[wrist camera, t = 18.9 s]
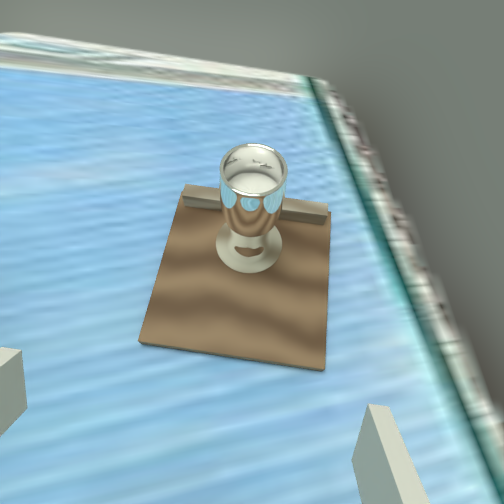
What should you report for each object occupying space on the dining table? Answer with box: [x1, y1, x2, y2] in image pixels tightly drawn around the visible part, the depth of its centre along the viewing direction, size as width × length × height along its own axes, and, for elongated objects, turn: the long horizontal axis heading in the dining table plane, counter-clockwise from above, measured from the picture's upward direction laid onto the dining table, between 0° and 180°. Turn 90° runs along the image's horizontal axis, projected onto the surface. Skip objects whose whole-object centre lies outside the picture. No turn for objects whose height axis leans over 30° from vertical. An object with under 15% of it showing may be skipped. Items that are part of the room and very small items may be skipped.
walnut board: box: [138, 184, 331, 371], centre depth 44 cm, size 22×22×4 cm
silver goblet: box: [219, 143, 288, 263], centre depth 39 cm, size 7×7×15 cm
